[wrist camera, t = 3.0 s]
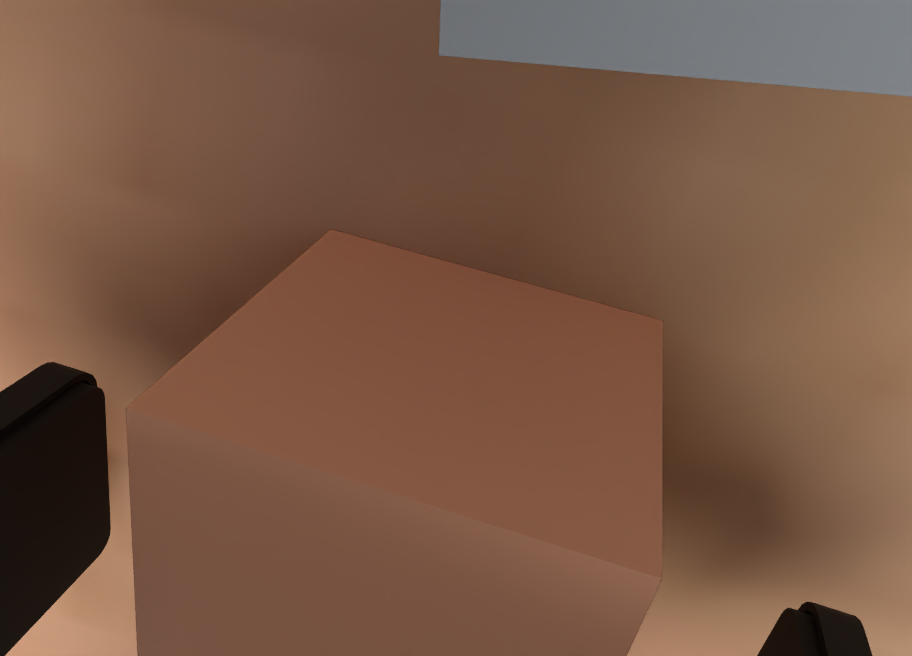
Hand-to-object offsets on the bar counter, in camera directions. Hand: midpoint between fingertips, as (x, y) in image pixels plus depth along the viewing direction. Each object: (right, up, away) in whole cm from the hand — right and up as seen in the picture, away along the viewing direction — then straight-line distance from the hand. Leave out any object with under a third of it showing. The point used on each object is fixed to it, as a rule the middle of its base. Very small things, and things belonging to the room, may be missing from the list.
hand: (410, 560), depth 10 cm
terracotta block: (+1, +2, +2) cm, 3 cm away
